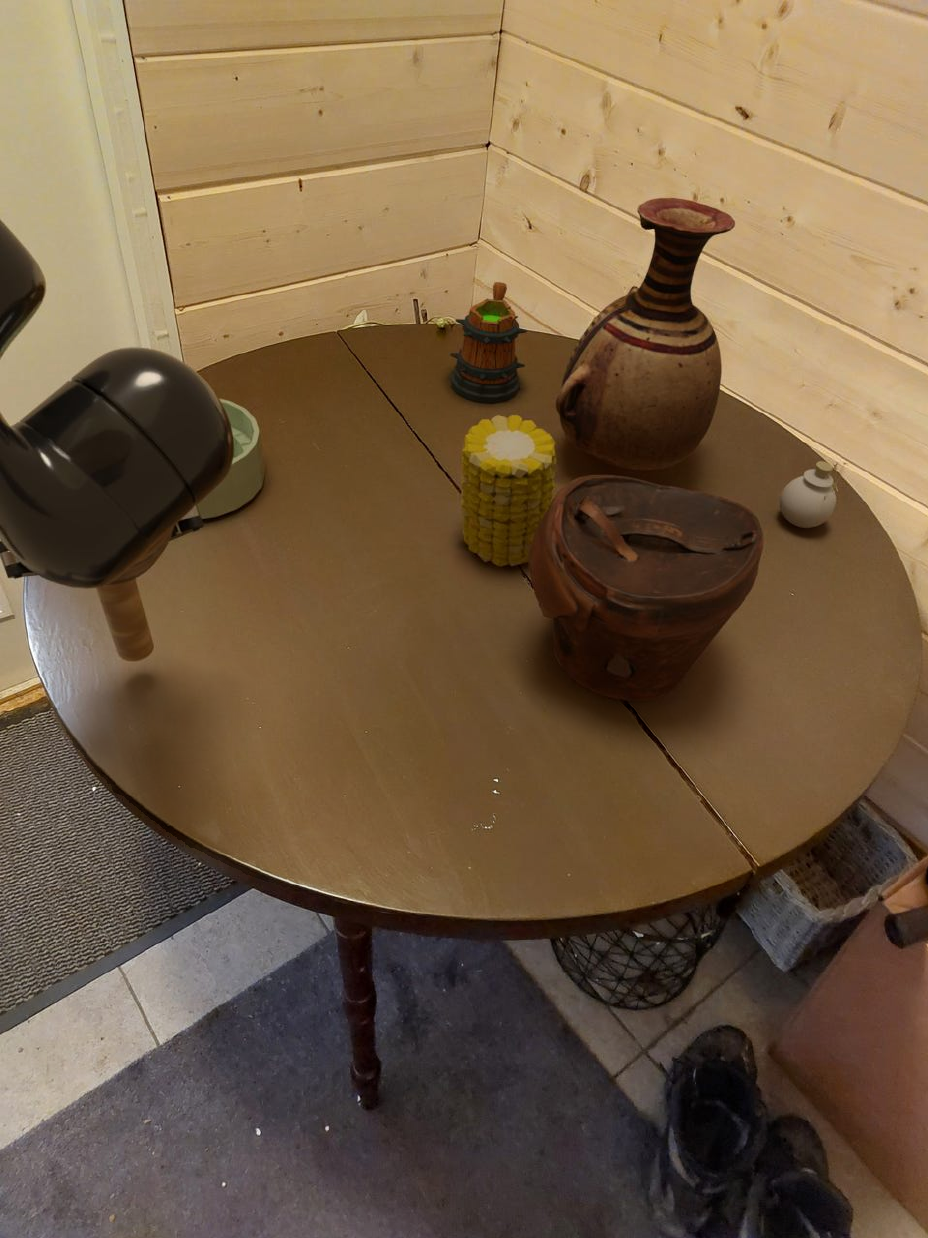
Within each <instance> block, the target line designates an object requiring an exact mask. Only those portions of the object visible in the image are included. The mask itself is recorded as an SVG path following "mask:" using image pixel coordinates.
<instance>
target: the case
mask: <svg viewBox="0 0 928 1238" xmlns="http://www.w3.org/2000/svg"><path fill="white" fill-rule="evenodd" d="M763 549H764V531H763V529H762V527H761V524H760V521H759V519H758V518H757V516H756V515H755V513H754V512H753V511H751V509H749V508H748V507H746V506H745V505H742V504H741V503H739V502H735V501H733V500H729V499H727V498H725V497H722V496H718V495H716V494H713V493H709V492H705V491H699V490H691V489H690V490H689V489H687V488H682V487H679V486H673V485H666V484H665V485H662V484H658V483H654V482H651V481H647V480H643V479H640V478H634V477H630V476H623V475H614V474H591V475H590V474H589V475H584V476H580V477H577V478H575V479H573V480H571V481H569V482H568V483H567V484H565V485H564V486H563V487H561V489H560V490H558V492H556V494H555V496H553V500H552V503H551V505H550V507H549V509H548V510H547V512H546V514H545V515H544V517H543V519H542V520H541V522H540V523H539V525H538V527H537V529H536V531H535V534H534V537H533V540H532V545H531V548H530V554H529V562H528V571H529V578H530V583H531V585H532V590H533V592H534V593H533V594H534V596H535V597H536V600H537V604H538V607H539V609H540V611H541V615H542V616H543V617H544V618H545V619H549V620H551V622H552V633H553V635H552V636H553V641H552V642H553V643H552V645H553V646H552V647H553V650H554V655H555V657H556V660H557V661H558V664H559V665H560V666H561V668H562V669H563V671H564V672H565V673H566V674H567V675H568V676H570V677H571V678H572V679H573V680H574V681H575V682H577V683H578V684H579V685H581V686H583V687H584V688H586V689H588V690H590V691H592V692H594V693H596V694H599V695H601V696H603V697H607V698H611V699H615V700H621V701H628V702H629V701H630V702H641V701H651V700H655V699H659V698H660V697H664V696H666V695H668V694H669V693H670V692H671V691H673V690H674V689H675V688H676V687H678V685H679V684H680V683H681V682H682V681H683V679H684V678H685V677H686V676H687V675H688V674H689V672H690V671H691V670H692V668H693V667H694V665H695V664H696V663H697V661H698V660H699V659H700V658H701V656H702V655H703V654H704V652H705V651H706V650H707V648H708V647H709V645H710V644H711V643H712V641H713V640H714V639H715V638H716V636H717V635H718V633H719V632H720V631H721V630H722V629H723V627H724V626H725V625H726V624H727V623H728V621H729V620H730V619H731V617H732V616H733V615H734V613H735V612H737V610H738V609H739V608H740V607H741V606H742V605H743V603H744V601H745V600H746V598H747V596H748V595H749V594H750V593H751V591H752V590H753V588H754V585H755V582H756V579H757V576H758V573H759V566H760V561H761V558H762V553H763Z"/></svg>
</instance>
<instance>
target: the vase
mask: <svg viewBox="0 0 928 1238" xmlns="http://www.w3.org/2000/svg"><path fill="white" fill-rule="evenodd" d="M636 211H637V213H638V215H639V220H640V221H639V222H640V223H639V224H640V227H641V228H642V229H643V230H645V231H650V230H653V232H654V246H653V249H652V250H653V251H652V255H651V259H650V262H649V265H648V268H647V271H646V273H645V277H644V278H643V281H642V282H641V284H640V286H639V287H638V286H637V285H634V286H631V288H630V290H629V291H628V292H627V294H625V295H623V296H621V297H618V298H617V299H615V300H614V301H612V302H611V303H609V304H608V305H606V306H605V307H604V309H602V310H601V311H600V312H599V313H598V315H596V317H594V319H593V320H592V322H591V323H590V324H589V325H588V327H587V328H586V330H585V331H584V332H583V334H582V335H581V337H580V338H579V340H578V341H577V343H576V345H575V347H574V349H573V351H572V353H571V355H570V358H569V359H568V362H567V364H566V367H565V371H564V374H563V378H562V380H561V381H562V382H561V387H560V389H559V392H558V394H557V397H556V399H555V411H556V412H557V414H558V415H559V422H560V426H561V428H562V430H563V433H564V435H565V436H566V438H567V439H568V441H570V443H571V444H572V445H573V446H574V447H576V448H577V449H578V450H580V451H582V452H583V453H585V454H587V455H589V456H591V457H592V458H594V459H597V460H599V461H601V462H603V463H606V464H608V465H611V466H615V467H617V468H622V469H625V470H626V469H627V470H631V471H633V470H634V471H659V470H665V469H668V468H671V467H673V466H675V465H677V464H679V463H681V462H683V461H684V460H685V459H687V458H688V457H689V456H690V455H691V454H693V452H694V451H695V450H696V449H697V448H698V446H699V445H700V444H701V442H702V441H703V440H704V438H705V436H706V434H707V433H708V430H709V429H710V426H711V424H712V421H713V418H714V415H715V412H716V409H717V405H718V400H719V395H720V390H721V383H722V371H723V369H722V367H723V365H722V355H721V349H720V344H719V341H718V337H717V334H716V331H715V329H714V327H713V325H712V323H711V321H710V320H709V318H708V317H707V315H706V314H705V313H703V311H701V309H700V308H698V307H697V306H696V305H694V304H693V303H694V302H693V300H692V284H693V279H694V274H695V271H696V267H697V264H698V261H699V258H700V256H701V254H702V252H703V250H704V248H705V246H706V245H707V243H708V242H709V241H710V240H711V238H713V237H714V236H717V235H722V234H726V233H728V232H731V231H732V230H733V229H734V228H735V227H736V221H735V220H734V219H733V217H732V216H731V215H730V214H729V213H727V212H725V211H722V210H720V209H719V208H715V207H713V206H709V205H707V204H703V203H700V202H698V201H695V200H694V201H693V200H691V199H690V200H689V199H685V198H684V199H683V198H677V197H658V198H652V199H649V200H647V201H644V202H643V203H641V204H640V205H638V207H637V210H636Z"/></svg>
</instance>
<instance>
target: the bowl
mask: <svg viewBox="0 0 928 1238" xmlns="http://www.w3.org/2000/svg"><path fill="white" fill-rule="evenodd" d="M219 399H220V401H221V403H222V405H223V407H224V409H225V411H226V413H227V416H228V418H229V421H230V424H231V428H232V433H233V439H234V456H233V461H232V465H231V468H230V470H229V473H228V474H227V476H226V477H225V478H224V480H223V481H222V482H221V483H220V484H219V485H218V486H217V487H216V488H215V489H213V490H212V491H211V492H210V493H209V494H208V495H207V496H206V497H205V498H204V499H203V500H202V501H201V502H200V503H199V504H198V505H197V506H198V509H199V512H200V515H201V516H200V517H201V518H202V520H205V519H210V518H217V517H220V516H222V515H226V514H228V513H230V512H233V511H236V510H238V509H239V508H241V507H242V506H244V505H246V504H247V503H248V502H250V501H251V500H253V499H254V497H255V496H256V495H257V494H258V493H259V491H260V490H261V489H262V487H263V484H264V480H265V474H266V472H265V464H264V463H265V462H264V455H263V447H262V440H261V439H262V438H261V430H260V428H259V424H258V421H257V419H256V417H255V416H254V415H253V414H251V412H250V411H249V410H247V409H246V408H245V407H243V406H241V405H239V404H236V403H234V402H233V401H230V400H227V399H223V398H219Z"/></svg>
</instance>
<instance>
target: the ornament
mask: <svg viewBox="0 0 928 1238" xmlns="http://www.w3.org/2000/svg"><path fill="white" fill-rule="evenodd" d="M838 463H839V462H836V464H835V463H833V465H832V464H831V463H829V462H827V461H823V460H820V461H817V462H816V464H815V468H814V469H807V470H806V471H804V473H803V475H801V476H798V477H796V478H794V479H792V480H790V481H789V482H788V483H787V484H786V485H785V486H784V488H783V489H782V491H781V494H780V498H779V509H780V512H781V514H782V516H783V518H784V519H785V520H786V521H787V522H788V523H790V525H793V526H794V527H798V528H804V529H810V528H815V527H818V526H820V525H822V524H824V523H825V522H827V521H828V520H829V519H830V518H831V516H833V515H832V514H833V513H834V511H835V509H836V504H837V495H836V491H837V492H838V491H839V490H838V487H837V485H838V482H839V479H837V480H836V482H834V478H833V477H832V476H831V475H830V473H831V471H832V473H834V472H835V471H838V468H837V466H838ZM835 490H836V491H835Z"/></svg>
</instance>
